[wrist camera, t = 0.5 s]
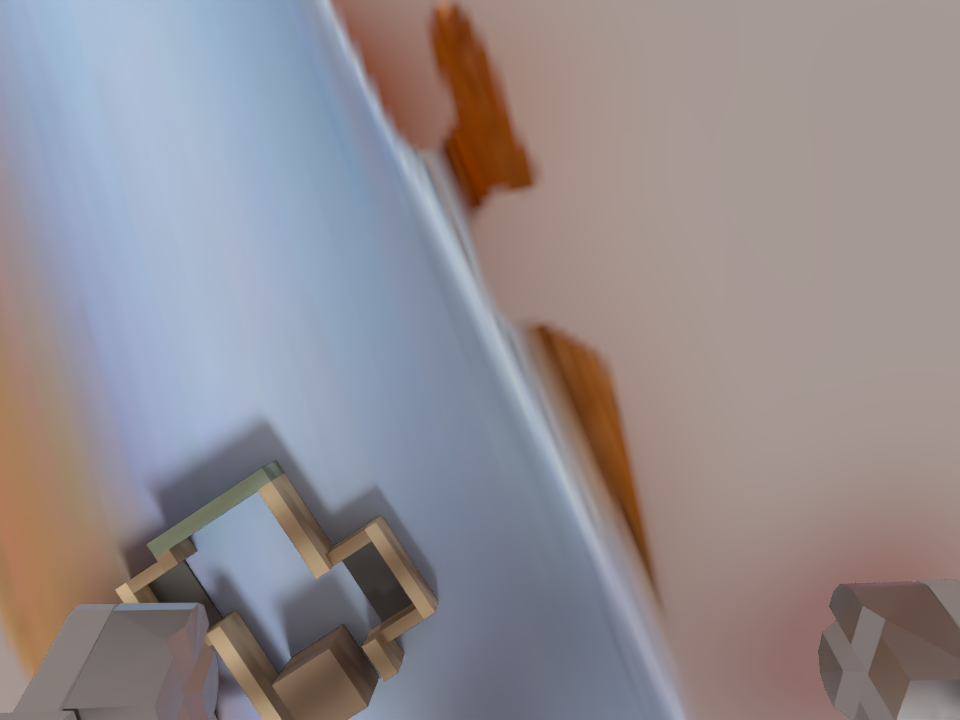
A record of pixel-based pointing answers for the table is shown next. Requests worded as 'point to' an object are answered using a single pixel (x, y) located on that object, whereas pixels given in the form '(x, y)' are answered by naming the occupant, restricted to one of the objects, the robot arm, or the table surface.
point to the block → (327, 679)
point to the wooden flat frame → (363, 553)
